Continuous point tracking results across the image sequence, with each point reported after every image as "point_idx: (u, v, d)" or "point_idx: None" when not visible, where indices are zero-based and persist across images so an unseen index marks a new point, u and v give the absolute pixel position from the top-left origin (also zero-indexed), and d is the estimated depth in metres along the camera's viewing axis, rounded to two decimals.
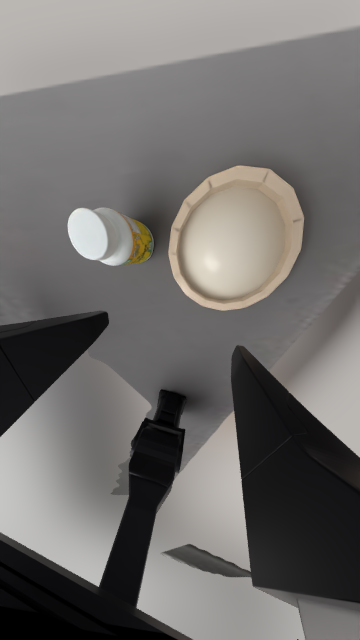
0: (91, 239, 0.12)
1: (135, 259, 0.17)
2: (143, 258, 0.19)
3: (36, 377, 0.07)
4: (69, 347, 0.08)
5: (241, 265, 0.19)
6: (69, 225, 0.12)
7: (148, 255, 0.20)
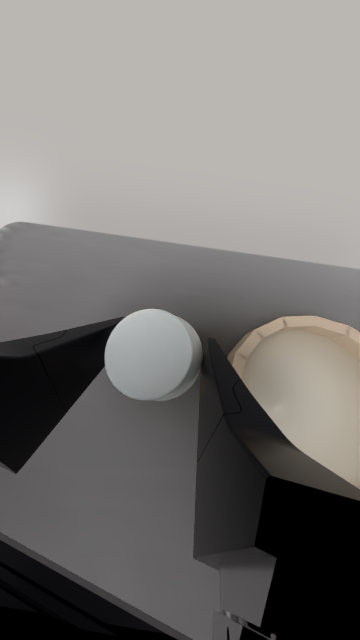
0: (152, 358, 0.06)
1: None
2: None
3: (68, 388, 0.06)
4: (98, 356, 0.07)
5: (334, 426, 0.12)
6: (119, 326, 0.07)
7: None
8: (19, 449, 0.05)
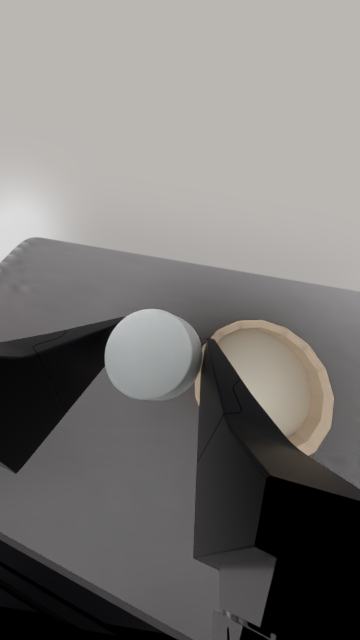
0: (152, 358, 0.06)
1: None
2: None
3: (68, 388, 0.06)
4: (98, 356, 0.07)
5: (270, 399, 0.17)
6: (119, 326, 0.07)
7: None
8: (19, 449, 0.05)
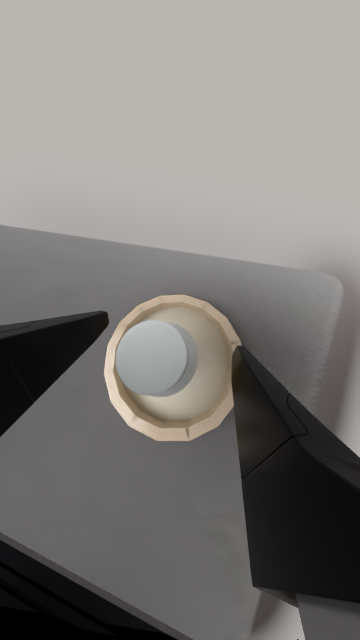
0: (154, 361, 0.07)
1: None
2: None
3: (36, 377, 0.07)
4: (69, 347, 0.08)
5: None
6: (127, 334, 0.08)
7: None
8: None
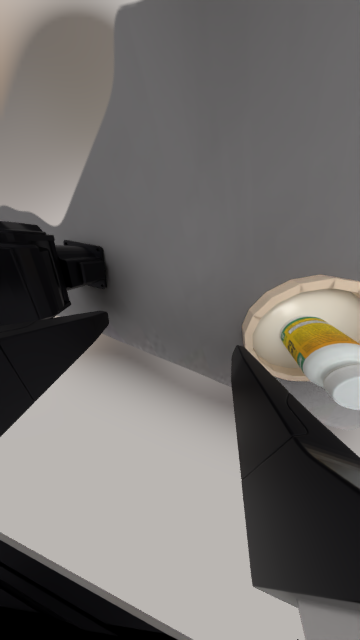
0: (358, 395, 0.11)
1: None
2: (288, 350, 0.18)
3: (36, 377, 0.07)
4: (69, 347, 0.08)
5: None
6: None
7: None
8: None
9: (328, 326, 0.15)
